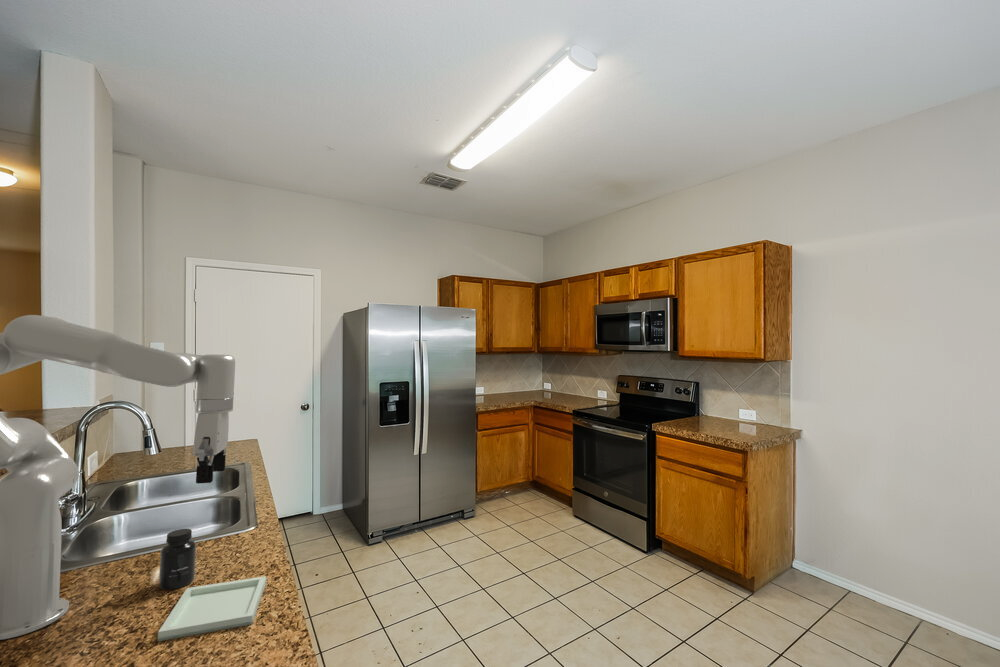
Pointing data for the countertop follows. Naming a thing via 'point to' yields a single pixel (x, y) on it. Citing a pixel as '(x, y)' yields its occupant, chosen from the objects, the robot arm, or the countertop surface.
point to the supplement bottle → (177, 560)
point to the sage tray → (214, 608)
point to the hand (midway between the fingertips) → (211, 476)
